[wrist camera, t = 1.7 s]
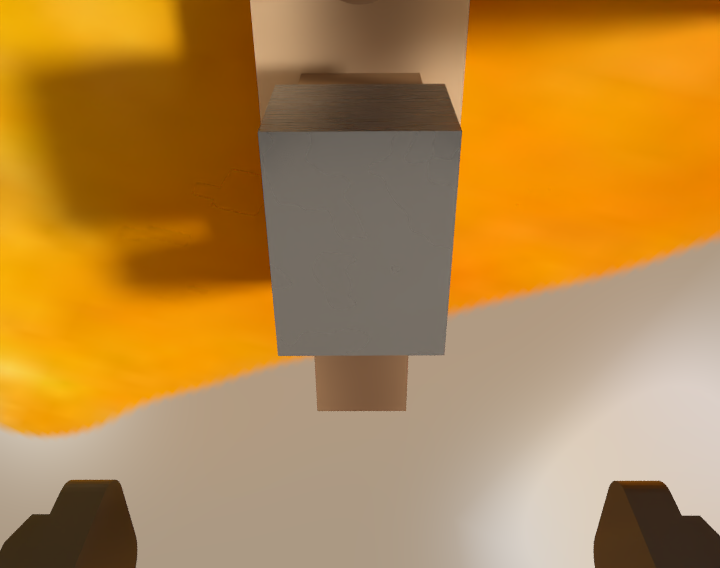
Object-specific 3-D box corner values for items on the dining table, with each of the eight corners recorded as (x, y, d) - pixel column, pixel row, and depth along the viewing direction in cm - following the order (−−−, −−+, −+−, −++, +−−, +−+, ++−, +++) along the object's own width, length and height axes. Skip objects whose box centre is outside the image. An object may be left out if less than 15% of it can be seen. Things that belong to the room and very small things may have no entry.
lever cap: (290, 284, 24) (278, 355, 20) (275, 84, 20) (258, 132, 16) (432, 283, 24) (444, 355, 20) (445, 83, 20) (461, 131, 16)
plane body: (284, 277, 31) (259, 417, 23) (252, -138, 22) (194, -133, 14) (438, 277, 31) (464, 417, 23) (466, -140, 22) (522, -135, 14)
